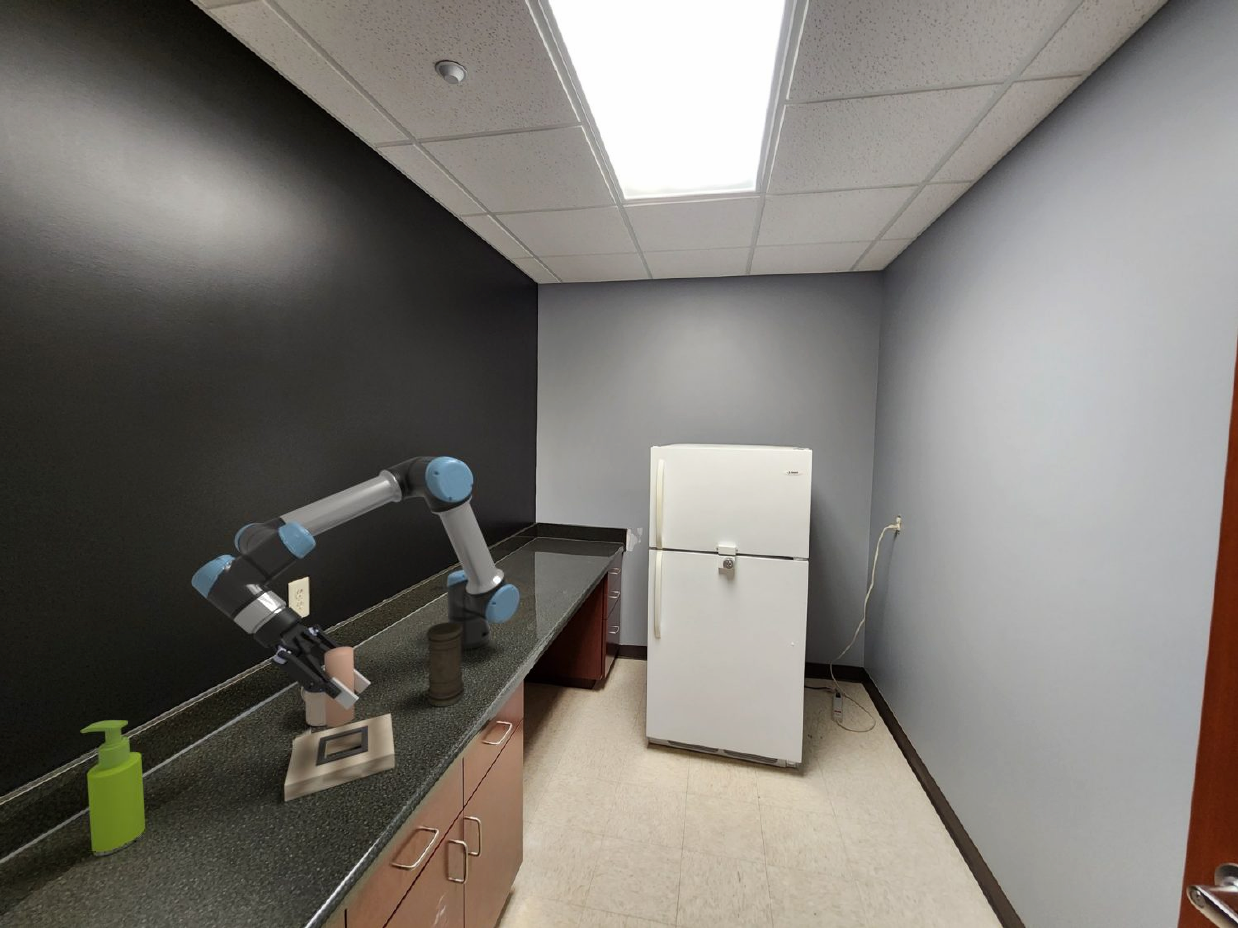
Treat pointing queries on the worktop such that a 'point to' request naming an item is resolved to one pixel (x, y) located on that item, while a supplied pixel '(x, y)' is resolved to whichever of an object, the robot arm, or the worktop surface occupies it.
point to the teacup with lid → (314, 707)
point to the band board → (339, 756)
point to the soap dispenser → (115, 790)
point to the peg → (343, 670)
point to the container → (445, 664)
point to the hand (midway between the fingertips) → (359, 695)
